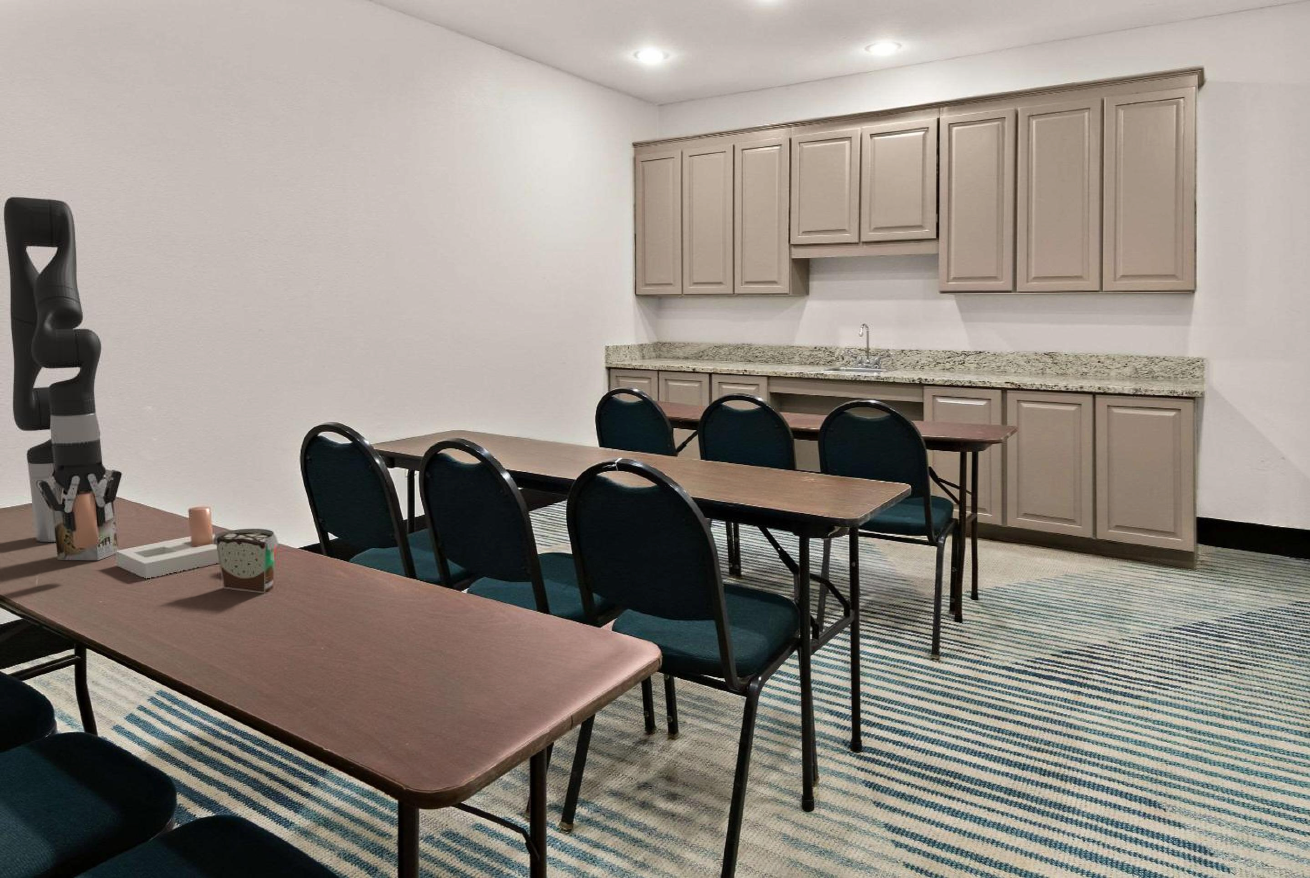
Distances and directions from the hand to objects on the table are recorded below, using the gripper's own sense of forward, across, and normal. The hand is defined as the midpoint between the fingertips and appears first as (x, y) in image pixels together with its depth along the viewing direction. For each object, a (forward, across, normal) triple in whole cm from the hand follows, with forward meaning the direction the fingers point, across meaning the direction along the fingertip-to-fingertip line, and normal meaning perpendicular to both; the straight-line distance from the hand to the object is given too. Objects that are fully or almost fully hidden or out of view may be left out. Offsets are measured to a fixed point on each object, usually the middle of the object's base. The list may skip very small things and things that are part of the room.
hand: (84, 528), depth 166 cm
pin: (+3, 0, 0) cm, 3 cm away
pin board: (+9, -15, +3) cm, 18 cm away
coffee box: (+10, -5, -16) cm, 19 cm away
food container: (+9, -17, +30) cm, 36 cm away
